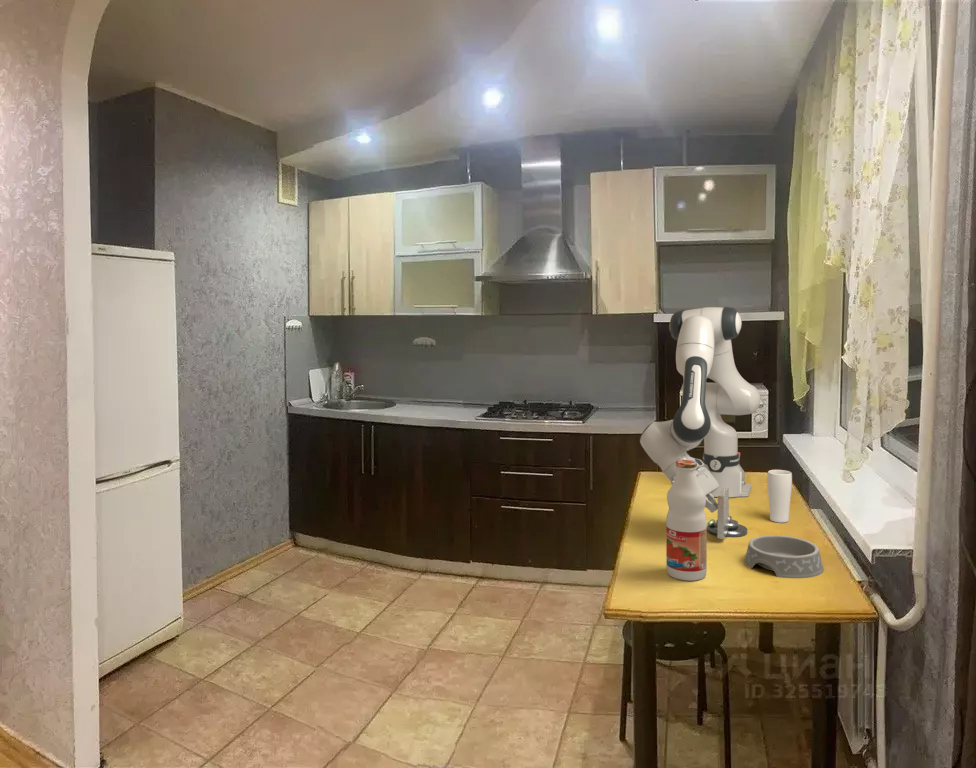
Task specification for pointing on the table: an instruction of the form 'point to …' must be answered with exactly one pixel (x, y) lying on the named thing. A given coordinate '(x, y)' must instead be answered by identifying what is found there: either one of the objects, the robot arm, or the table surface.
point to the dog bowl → (785, 556)
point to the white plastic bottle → (686, 525)
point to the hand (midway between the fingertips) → (716, 510)
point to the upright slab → (724, 515)
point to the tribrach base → (731, 533)
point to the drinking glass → (779, 494)
